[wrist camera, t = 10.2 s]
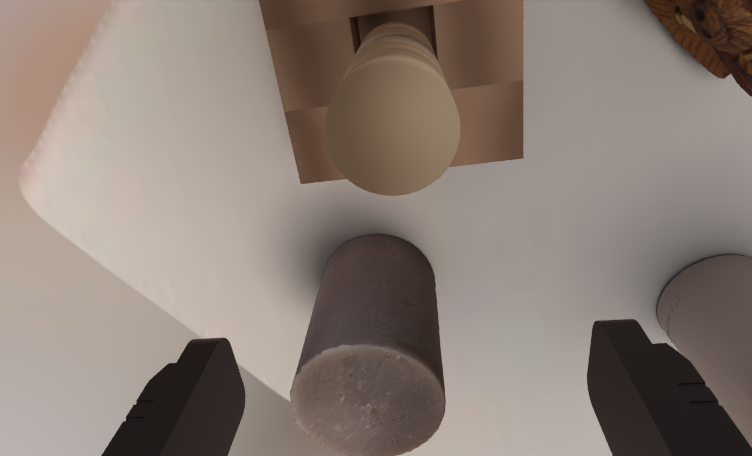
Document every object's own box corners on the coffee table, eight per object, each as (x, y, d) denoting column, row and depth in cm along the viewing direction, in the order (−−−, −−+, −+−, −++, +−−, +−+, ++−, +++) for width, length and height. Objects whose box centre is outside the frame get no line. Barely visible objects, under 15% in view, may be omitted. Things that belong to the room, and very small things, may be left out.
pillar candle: (454, 299, 42) (478, 446, 29) (359, 342, 45) (342, 496, 32) (397, 212, 39) (395, 334, 26) (298, 264, 42) (249, 400, 28)
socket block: (500, -101, 29) (522, -116, 24) (504, 129, 35) (523, 158, 30) (271, -62, 30) (243, -68, 25) (315, 153, 37) (300, 184, 31)
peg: (431, 16, 24) (455, 53, 13) (438, 98, 26) (464, 187, 15) (350, 28, 24) (312, 73, 14) (362, 107, 26) (337, 202, 16)
